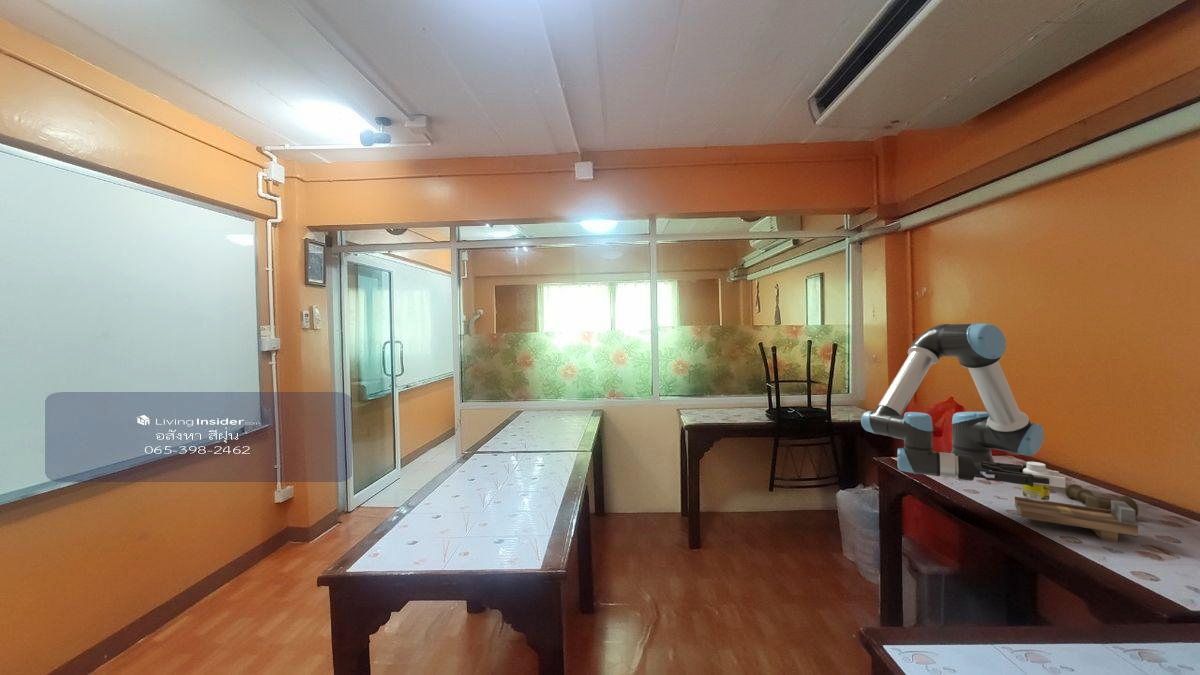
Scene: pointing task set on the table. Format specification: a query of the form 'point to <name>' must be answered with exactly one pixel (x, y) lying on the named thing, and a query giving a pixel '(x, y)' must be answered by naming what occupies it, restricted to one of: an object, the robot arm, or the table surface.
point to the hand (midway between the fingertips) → (1061, 479)
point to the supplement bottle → (1037, 490)
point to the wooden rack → (1083, 516)
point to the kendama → (1092, 501)
